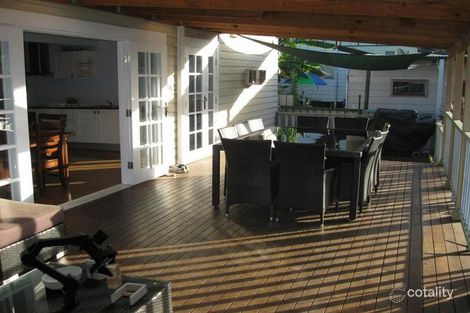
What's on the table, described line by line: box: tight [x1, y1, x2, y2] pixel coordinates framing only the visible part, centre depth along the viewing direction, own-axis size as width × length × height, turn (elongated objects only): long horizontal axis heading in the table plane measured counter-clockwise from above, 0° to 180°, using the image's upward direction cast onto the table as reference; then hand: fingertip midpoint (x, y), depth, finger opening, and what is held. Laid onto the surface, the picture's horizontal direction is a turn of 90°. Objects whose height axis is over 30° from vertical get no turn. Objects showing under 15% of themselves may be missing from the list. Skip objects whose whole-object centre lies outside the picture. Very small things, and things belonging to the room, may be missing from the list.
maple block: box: [105, 263, 123, 290], centre depth 233 cm, size 5×5×11 cm
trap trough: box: [110, 282, 149, 306], centre depth 235 cm, size 14×12×4 cm
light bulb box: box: [85, 257, 108, 281], centre depth 264 cm, size 11×7×11 cm, turn 62°
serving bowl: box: [41, 265, 83, 290], centre depth 257 cm, size 21×21×7 cm
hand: (115, 274), depth 232 cm, fingers closed on maple block, 5 cm apart
